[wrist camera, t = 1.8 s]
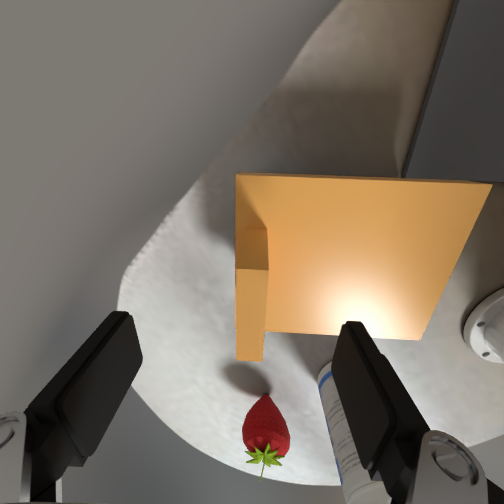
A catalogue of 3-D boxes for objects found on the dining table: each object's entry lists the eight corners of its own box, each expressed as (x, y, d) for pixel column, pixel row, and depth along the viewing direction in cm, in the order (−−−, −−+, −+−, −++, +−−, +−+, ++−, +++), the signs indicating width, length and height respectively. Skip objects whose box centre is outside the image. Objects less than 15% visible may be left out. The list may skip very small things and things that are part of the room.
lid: (466, 180, 16) (642, 207, 8) (406, 323, 21) (481, 415, 14) (238, 171, 16) (217, 190, 9) (237, 314, 22) (224, 397, 14)
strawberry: (268, 414, 38) (269, 497, 29) (236, 392, 36) (227, 474, 27) (295, 400, 36) (305, 484, 27) (263, 375, 34) (263, 458, 25)
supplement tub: (303, 380, 34) (328, 529, 21) (346, 342, 30) (411, 493, 17) (351, 404, 36) (404, 555, 22) (397, 370, 32) (493, 528, 19)
